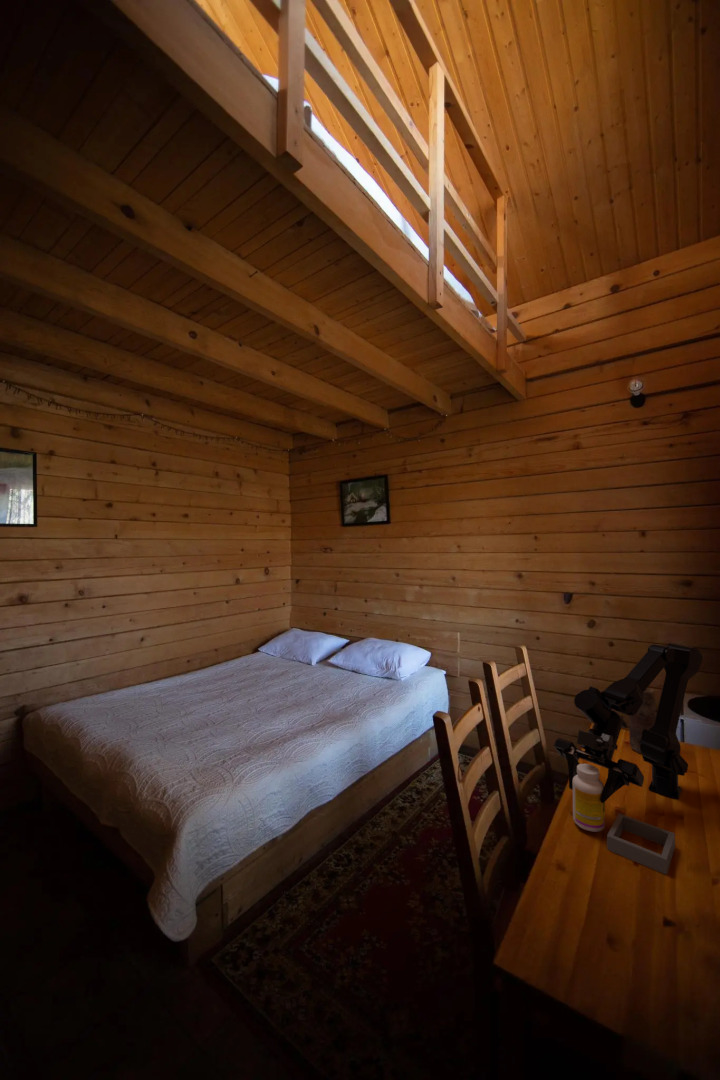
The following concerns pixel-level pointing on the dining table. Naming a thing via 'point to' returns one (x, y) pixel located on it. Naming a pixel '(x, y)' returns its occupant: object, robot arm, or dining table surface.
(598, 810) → the supplement bottle
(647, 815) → the dining table surface
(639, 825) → the holder
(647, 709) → the candle
